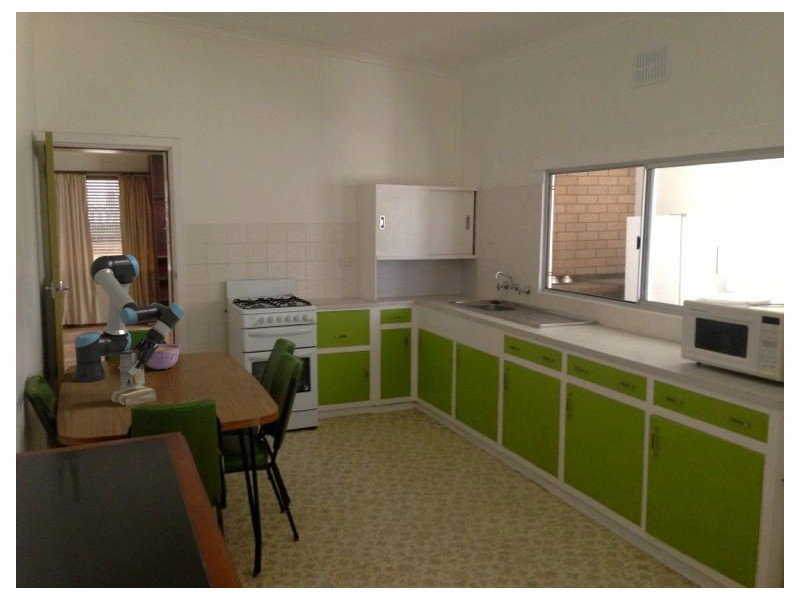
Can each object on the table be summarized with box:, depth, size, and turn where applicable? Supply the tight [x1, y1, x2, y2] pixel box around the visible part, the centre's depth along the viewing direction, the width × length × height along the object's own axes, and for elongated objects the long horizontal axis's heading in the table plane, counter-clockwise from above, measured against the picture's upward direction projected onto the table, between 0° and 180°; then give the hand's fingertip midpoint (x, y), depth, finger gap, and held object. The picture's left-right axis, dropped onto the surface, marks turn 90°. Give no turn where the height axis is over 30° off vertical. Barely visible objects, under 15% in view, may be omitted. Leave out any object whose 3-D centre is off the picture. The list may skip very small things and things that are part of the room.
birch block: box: [110, 384, 157, 407], centre depth 303 cm, size 14×14×5 cm
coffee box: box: [118, 348, 146, 389], centre depth 301 cm, size 9×6×16 cm
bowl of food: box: [145, 343, 181, 371], centre depth 365 cm, size 20×20×12 cm
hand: (125, 371), depth 299 cm, fingers closed on coffee box, 10 cm apart
